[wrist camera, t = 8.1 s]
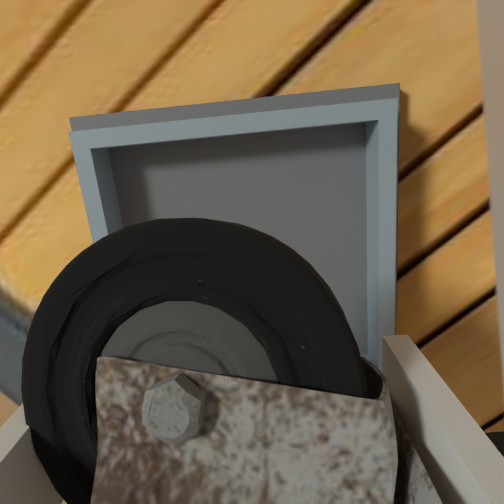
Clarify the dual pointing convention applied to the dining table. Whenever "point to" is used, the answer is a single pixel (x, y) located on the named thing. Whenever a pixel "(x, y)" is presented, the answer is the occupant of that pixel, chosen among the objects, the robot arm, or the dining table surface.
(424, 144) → the dining table surface
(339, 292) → the tray
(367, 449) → the caster wheel
